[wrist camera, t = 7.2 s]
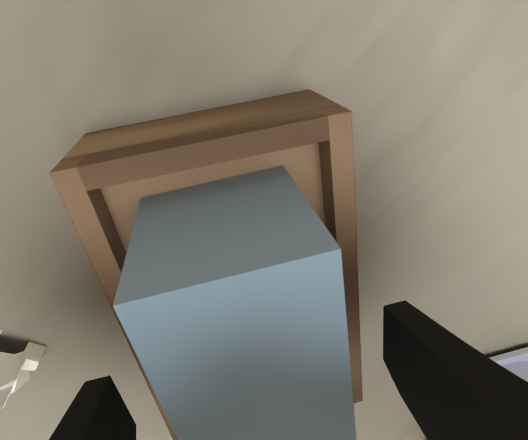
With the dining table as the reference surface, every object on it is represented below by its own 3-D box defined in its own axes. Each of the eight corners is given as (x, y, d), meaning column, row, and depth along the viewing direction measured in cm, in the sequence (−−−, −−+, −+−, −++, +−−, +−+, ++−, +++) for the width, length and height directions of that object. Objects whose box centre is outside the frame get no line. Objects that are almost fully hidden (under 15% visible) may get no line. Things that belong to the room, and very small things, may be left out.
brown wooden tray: (331, 335, 18) (362, 400, 14) (180, 374, 17) (178, 451, 14) (310, 89, 12) (351, 111, 9) (85, 133, 11) (49, 173, 8)
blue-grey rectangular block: (312, 358, 14) (359, 484, 10) (210, 386, 14) (219, 527, 10) (283, 165, 10) (340, 249, 7) (140, 197, 10) (113, 305, 6)
